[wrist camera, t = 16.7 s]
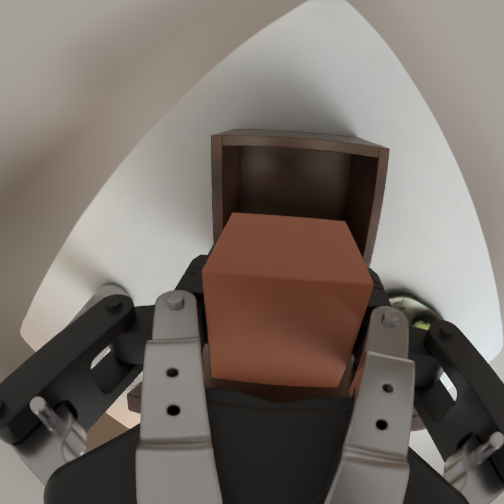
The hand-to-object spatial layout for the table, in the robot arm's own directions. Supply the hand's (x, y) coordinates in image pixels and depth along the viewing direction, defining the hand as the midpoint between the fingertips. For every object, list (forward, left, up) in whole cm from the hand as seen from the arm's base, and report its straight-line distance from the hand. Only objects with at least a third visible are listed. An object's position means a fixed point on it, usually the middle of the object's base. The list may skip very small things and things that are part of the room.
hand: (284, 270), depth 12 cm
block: (0, 0, 0) cm, 0 cm away
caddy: (+3, 0, -19) cm, 19 cm away
